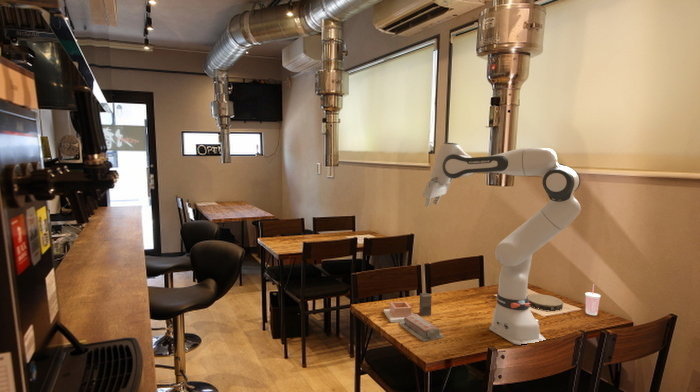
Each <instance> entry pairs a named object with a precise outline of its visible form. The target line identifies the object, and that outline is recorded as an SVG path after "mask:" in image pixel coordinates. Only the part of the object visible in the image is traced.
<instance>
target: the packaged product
mask: <svg viewBox="0 0 700 392" xmlns="http://www.w3.org/2000/svg"><path fill="white" fill-rule="evenodd" d="M398 325H400V326H401V327H402V328H403V329H405V330H406V331H407V332H409V333H410V334H412V335H413V336H414V337H416V338H417V339H419V340H420V341H421V342H423V343H424V342H429V341H434V340H439V339H443V338H444V334H443V333H441V332H440V331H441V330H440V328H439V327H438V326H436V325H435V324H433V323H432V322H430V321H428V320H426V319H425V318H424V317H423V316H422V315H419V314H417V313H414V314H411V315H409V316H407V317H405V318H404V322H398Z"/></svg>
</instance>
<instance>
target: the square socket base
mask: <svg viewBox="0 0 700 392" xmlns="http://www.w3.org/2000/svg"><path fill="white" fill-rule="evenodd" d="M383 313H384V315H385V316H386V318H387V319H388V321H389V322H390V323H401V322H404V318H405V317H407V316H409V315H411V314H415V313H414V312H413V311H412V306H411V305H410V304H409V303H408V302H407V301H394V302H392V301H391V302H389V308H386V309H385V308H384V309H383Z"/></svg>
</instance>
